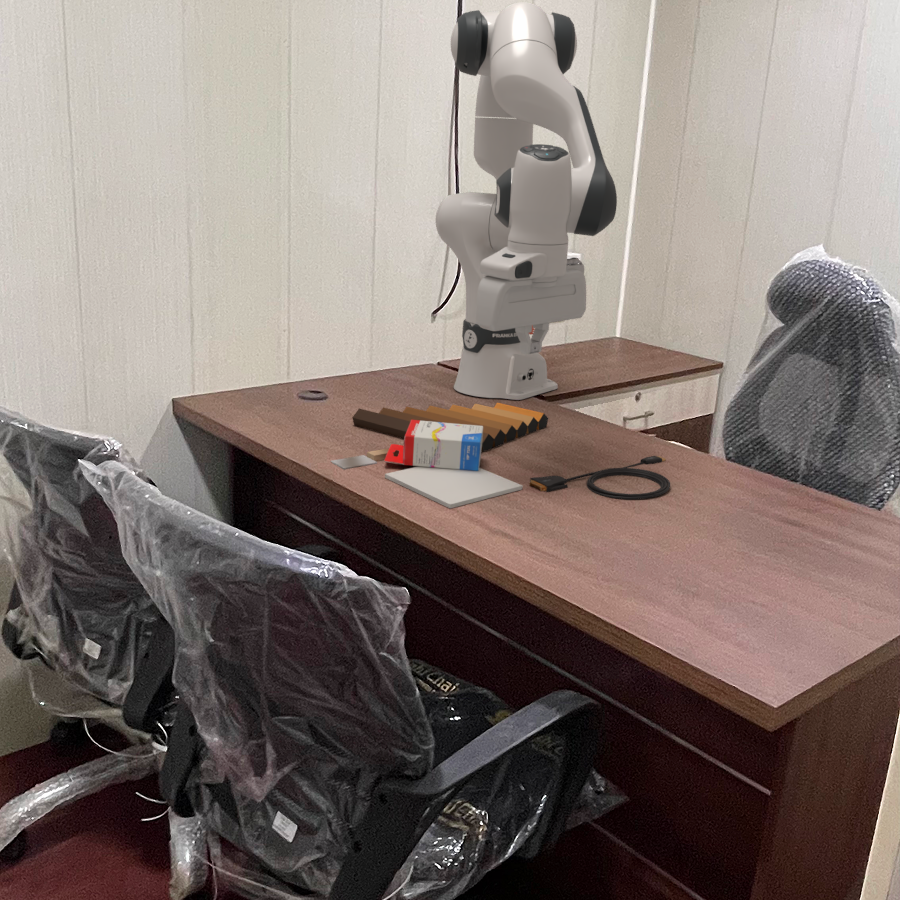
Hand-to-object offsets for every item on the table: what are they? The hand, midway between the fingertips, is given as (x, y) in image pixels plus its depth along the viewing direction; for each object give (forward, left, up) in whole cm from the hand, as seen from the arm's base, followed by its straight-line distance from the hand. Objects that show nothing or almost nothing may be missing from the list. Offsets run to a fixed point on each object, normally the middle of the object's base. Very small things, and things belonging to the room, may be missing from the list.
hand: (530, 352), depth 145 cm
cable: (-8, +15, -19) cm, 25 cm away
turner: (+17, -15, -18) cm, 29 cm away
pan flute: (-5, -23, -19) cm, 30 cm away
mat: (+15, 0, -18) cm, 23 cm away
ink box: (+6, -3, -15) cm, 16 cm away
